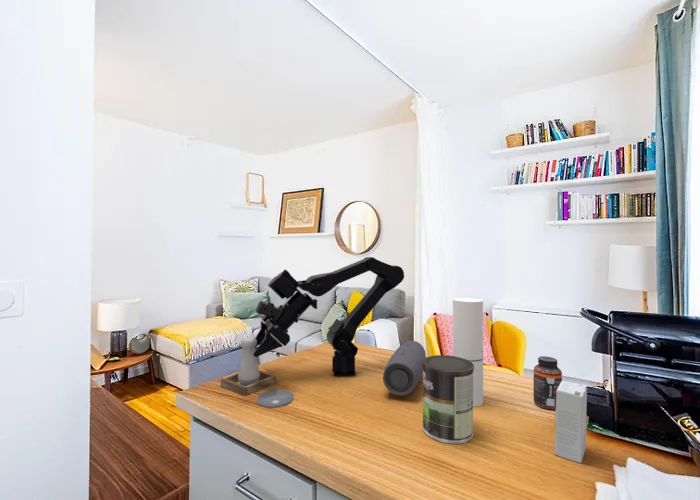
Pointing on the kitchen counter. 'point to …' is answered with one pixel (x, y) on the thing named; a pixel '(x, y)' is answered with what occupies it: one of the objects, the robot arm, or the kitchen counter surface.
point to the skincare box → (570, 421)
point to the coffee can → (448, 398)
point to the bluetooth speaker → (404, 368)
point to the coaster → (275, 398)
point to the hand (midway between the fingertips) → (253, 351)
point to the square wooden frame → (245, 390)
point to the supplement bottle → (546, 382)
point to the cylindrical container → (470, 339)
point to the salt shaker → (248, 362)
